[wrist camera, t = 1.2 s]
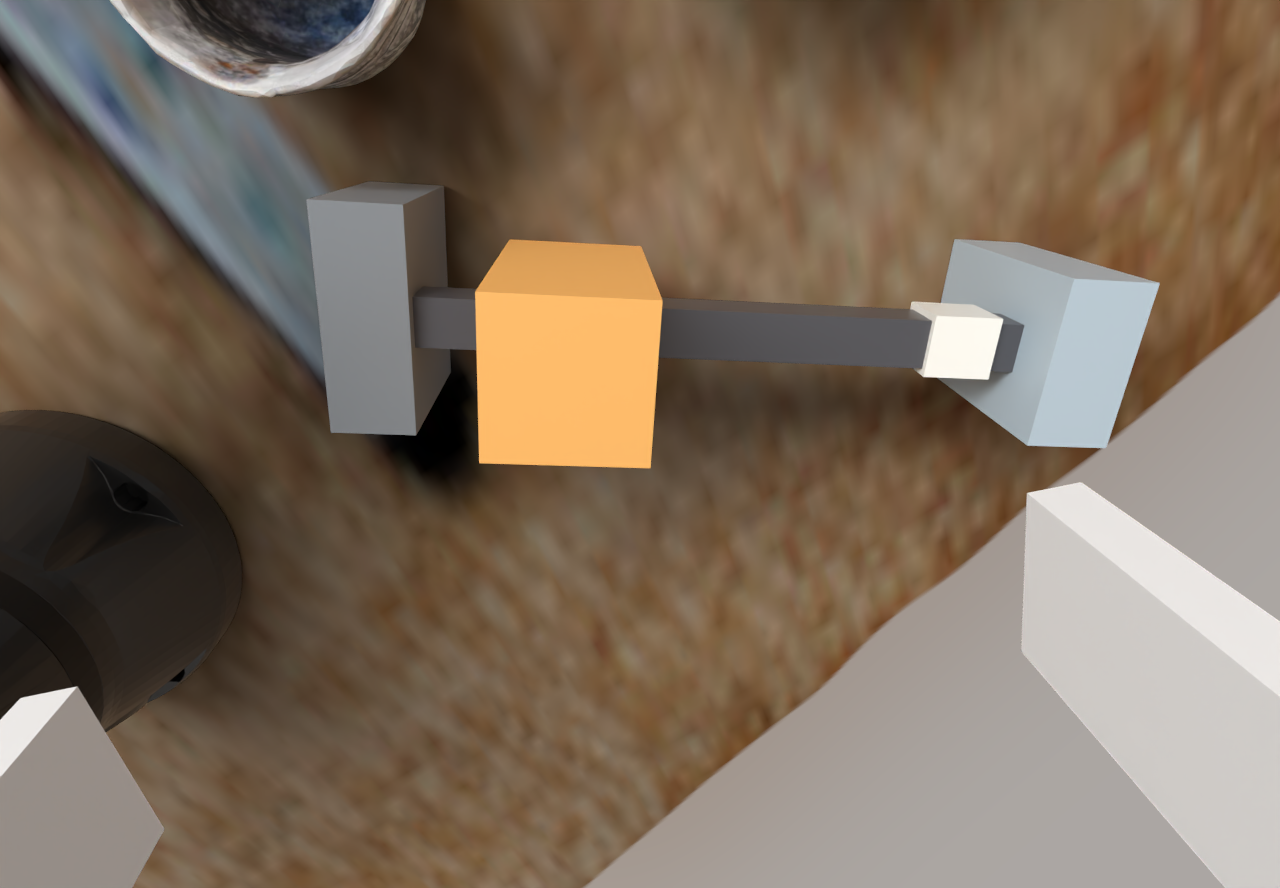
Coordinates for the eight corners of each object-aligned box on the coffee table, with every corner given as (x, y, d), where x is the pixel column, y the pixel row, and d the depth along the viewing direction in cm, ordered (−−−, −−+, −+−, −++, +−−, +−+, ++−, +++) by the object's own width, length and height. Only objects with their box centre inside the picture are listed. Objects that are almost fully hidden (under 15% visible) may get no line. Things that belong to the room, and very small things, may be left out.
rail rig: (383, 369, 34) (317, 449, 26) (369, 181, 31) (289, 204, 23) (1006, 393, 37) (1128, 473, 28) (1051, 220, 33) (1204, 254, 25)
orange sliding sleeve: (510, 365, 31) (479, 462, 22) (509, 239, 29) (475, 291, 20) (633, 370, 31) (650, 468, 23) (640, 246, 29) (662, 300, 21)
